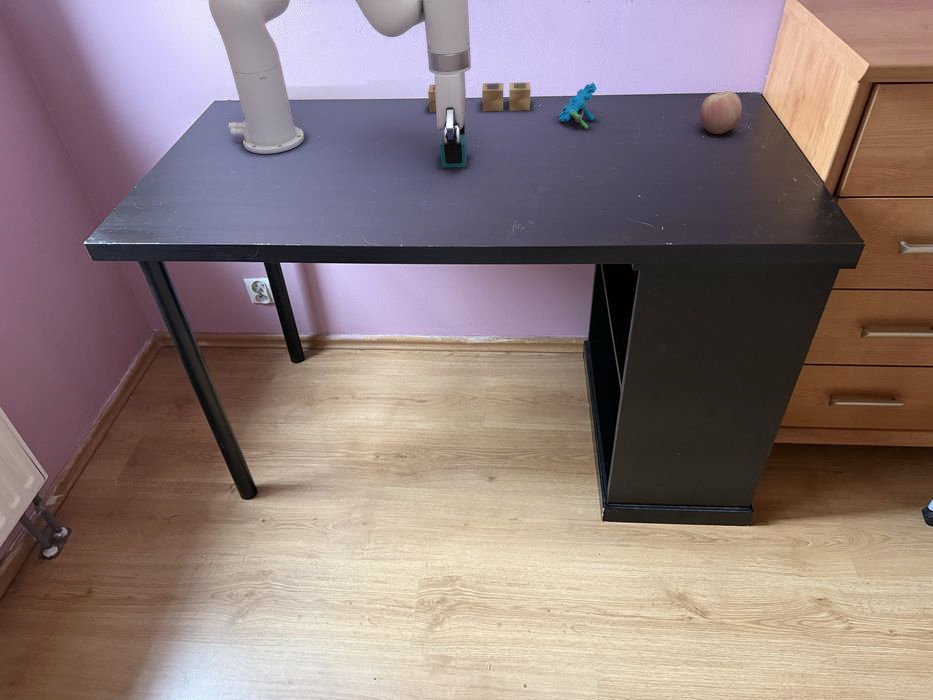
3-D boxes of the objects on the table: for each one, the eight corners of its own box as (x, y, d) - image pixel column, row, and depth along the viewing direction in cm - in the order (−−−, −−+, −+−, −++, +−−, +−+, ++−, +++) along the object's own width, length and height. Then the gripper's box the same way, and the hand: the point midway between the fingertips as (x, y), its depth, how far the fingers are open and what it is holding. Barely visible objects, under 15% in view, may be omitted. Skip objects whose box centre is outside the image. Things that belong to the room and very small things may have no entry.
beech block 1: (429, 112, 149) (427, 91, 146) (431, 104, 152) (429, 84, 149) (449, 112, 148) (448, 90, 145) (451, 104, 152) (450, 83, 149)
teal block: (441, 167, 127) (440, 144, 124) (443, 157, 131) (442, 134, 128) (465, 167, 127) (464, 143, 124) (466, 156, 130) (465, 133, 127)
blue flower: (561, 101, 146) (595, 72, 139) (579, 120, 148) (613, 92, 141) (551, 128, 139) (587, 98, 132) (570, 147, 141) (606, 119, 134)
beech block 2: (482, 111, 148) (482, 90, 145) (483, 103, 151) (482, 82, 148) (503, 110, 148) (503, 89, 144) (503, 103, 151) (503, 82, 148)
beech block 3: (509, 110, 147) (509, 89, 144) (509, 103, 151) (509, 82, 148) (530, 110, 147) (530, 89, 144) (529, 102, 151) (530, 81, 148)
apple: (724, 122, 138) (732, 83, 133) (744, 136, 132) (754, 96, 127) (689, 127, 137) (697, 88, 131) (709, 142, 131) (717, 102, 126)
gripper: (432, 45, 123) (440, 134, 134) (423, 76, 110) (432, 172, 121) (472, 43, 122) (476, 133, 134) (468, 75, 109) (473, 171, 120)
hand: (455, 151), depth 127 cm, fingers open, 9 cm apart
